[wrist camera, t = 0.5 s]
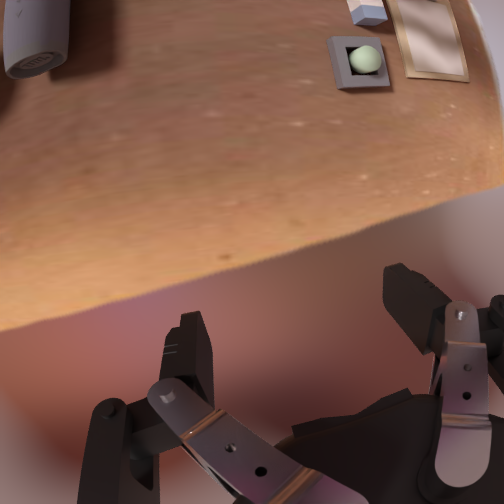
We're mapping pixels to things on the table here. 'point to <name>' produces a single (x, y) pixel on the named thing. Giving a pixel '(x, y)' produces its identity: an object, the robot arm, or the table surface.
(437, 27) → the clipboard
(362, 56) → the button
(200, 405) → the robot arm
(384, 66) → the button housing
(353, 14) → the white carton blue base
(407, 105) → the table surface
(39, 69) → the bluetooth speaker
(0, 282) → the table surface
